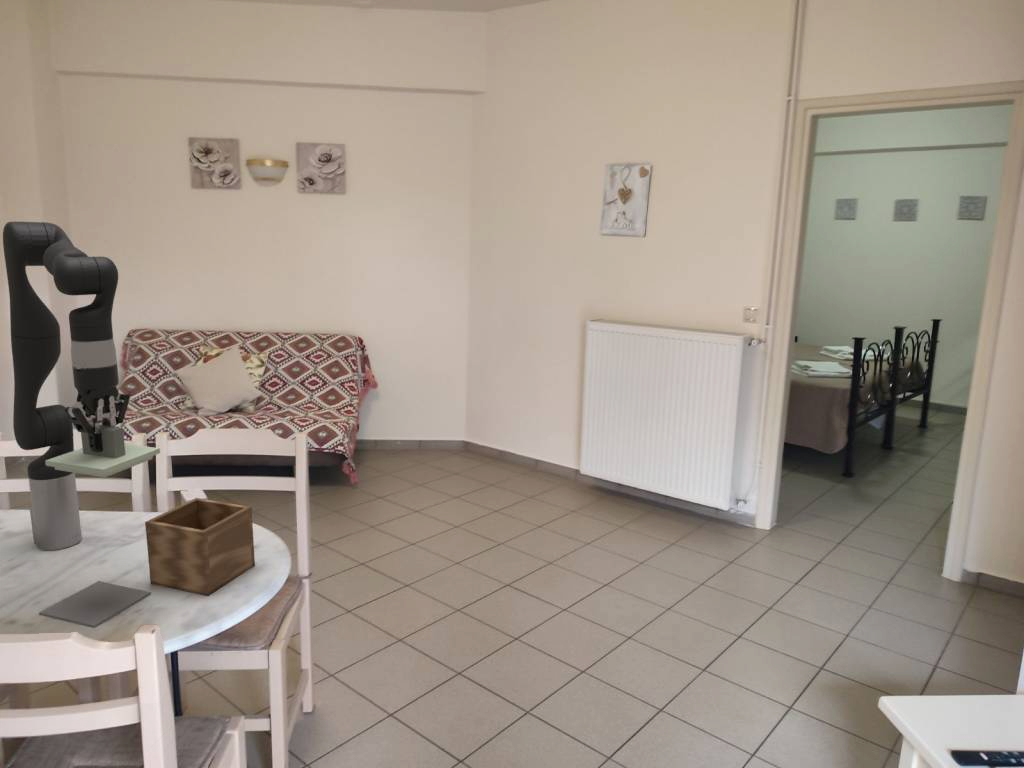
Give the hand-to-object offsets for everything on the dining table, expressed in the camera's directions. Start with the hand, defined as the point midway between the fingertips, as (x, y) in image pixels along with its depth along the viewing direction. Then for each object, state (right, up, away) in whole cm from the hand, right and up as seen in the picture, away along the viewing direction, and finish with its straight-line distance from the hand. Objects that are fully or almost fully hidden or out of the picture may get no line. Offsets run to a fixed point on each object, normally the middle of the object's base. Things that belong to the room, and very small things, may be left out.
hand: (103, 448), depth 146 cm
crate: (+13, -29, +17) cm, 36 cm away
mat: (-4, -32, +4) cm, 32 cm away
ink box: (+4, -25, +35) cm, 43 cm away
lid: (0, -3, +1) cm, 3 cm away
